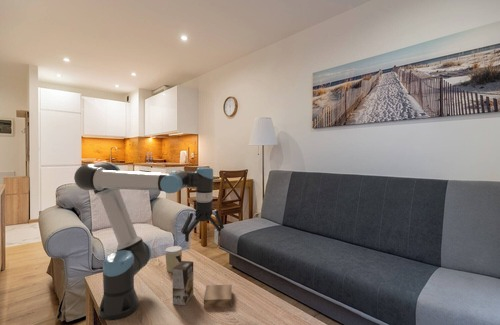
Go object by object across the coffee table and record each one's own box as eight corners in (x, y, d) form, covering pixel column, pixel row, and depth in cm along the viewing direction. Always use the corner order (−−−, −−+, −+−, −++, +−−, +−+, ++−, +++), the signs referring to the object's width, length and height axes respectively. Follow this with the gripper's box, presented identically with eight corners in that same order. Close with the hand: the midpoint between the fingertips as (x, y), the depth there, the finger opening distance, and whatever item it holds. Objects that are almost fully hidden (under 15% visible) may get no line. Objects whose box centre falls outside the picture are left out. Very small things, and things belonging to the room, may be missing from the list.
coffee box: (185, 305, 115) (185, 270, 114) (172, 304, 116) (171, 268, 115) (194, 294, 124) (194, 261, 123) (181, 292, 125) (181, 260, 124)
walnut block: (203, 308, 114) (203, 299, 113) (206, 293, 126) (206, 285, 125) (231, 307, 114) (231, 299, 114) (231, 292, 126) (231, 284, 126)
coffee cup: (179, 273, 144) (179, 252, 144) (162, 273, 144) (162, 251, 144) (184, 265, 154) (184, 245, 153) (168, 265, 154) (168, 245, 153)
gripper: (179, 204, 111) (178, 253, 112) (231, 200, 124) (230, 244, 125) (174, 201, 118) (173, 247, 119) (224, 197, 131) (223, 239, 132)
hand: (202, 245), depth 122 cm, fingers open, 13 cm apart
